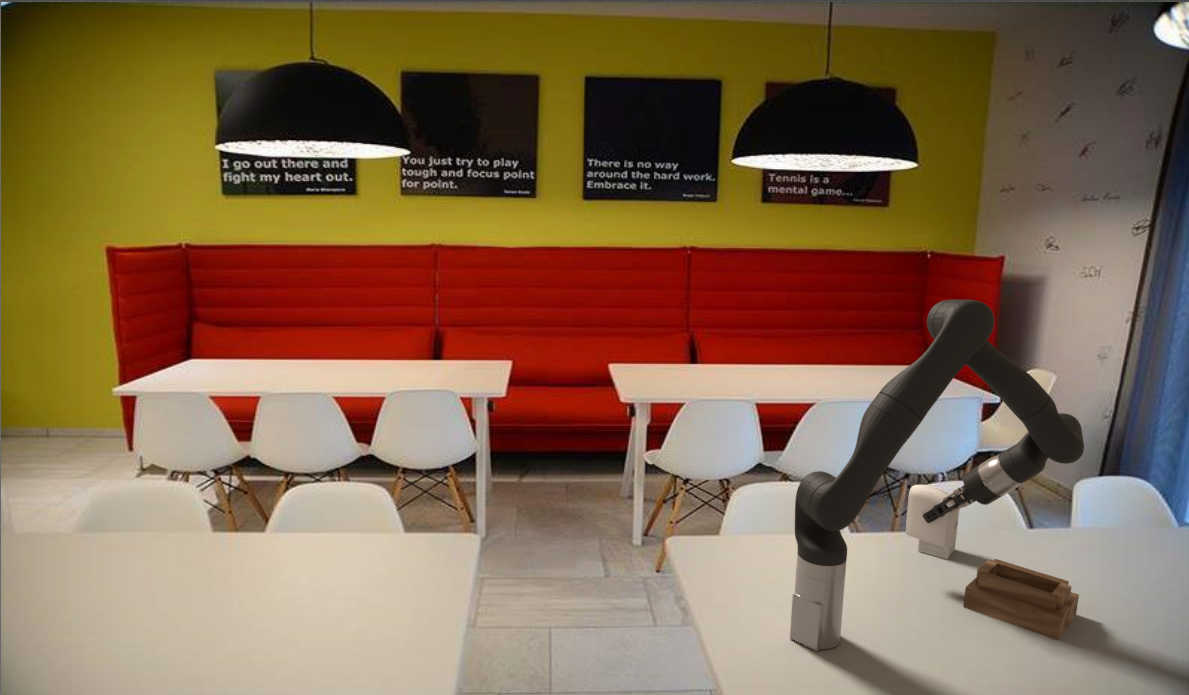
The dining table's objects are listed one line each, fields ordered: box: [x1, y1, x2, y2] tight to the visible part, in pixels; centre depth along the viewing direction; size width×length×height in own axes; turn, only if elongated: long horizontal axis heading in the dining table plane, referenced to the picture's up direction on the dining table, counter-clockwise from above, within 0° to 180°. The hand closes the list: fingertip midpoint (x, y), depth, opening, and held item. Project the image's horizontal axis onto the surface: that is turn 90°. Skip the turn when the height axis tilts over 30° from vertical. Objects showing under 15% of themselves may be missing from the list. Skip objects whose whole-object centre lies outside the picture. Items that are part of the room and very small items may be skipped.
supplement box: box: [917, 509, 960, 560], centre depth 195 cm, size 7×7×13 cm
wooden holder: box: [963, 558, 1080, 641], centre depth 167 cm, size 14×18×8 cm
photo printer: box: [905, 484, 956, 548], centre depth 175 cm, size 10×4×12 cm, turn 39°
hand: (930, 516), depth 175 cm, fingers closed on photo printer, 4 cm apart
